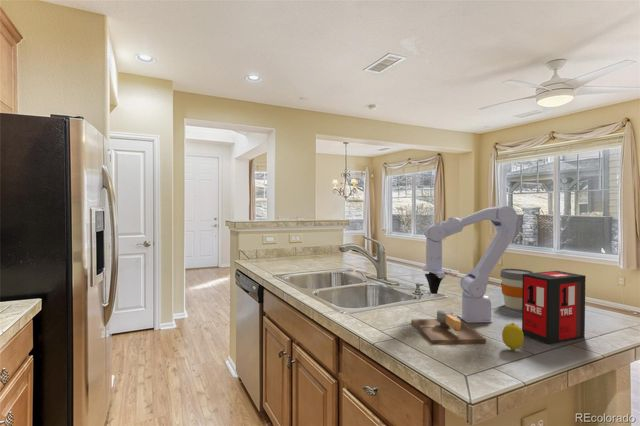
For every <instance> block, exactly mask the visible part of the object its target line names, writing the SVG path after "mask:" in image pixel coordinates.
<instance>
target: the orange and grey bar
mask: <svg viewBox="0 0 640 426" xmlns="http://www.w3.org/2000/svg"><path fill="white" fill-rule="evenodd" d="M453 314H454V313H453V312H452V311H450V310H447V309H446V310H445V309H439V310H437V311H436V319H437V321H438V322H440V323H445V324H447V325H448V326H450V327H451V328H453V329H454V330H455V331H461V322H462V320H460V319H458V318H457V317H455V316H454V315H453Z"/></svg>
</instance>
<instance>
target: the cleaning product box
mask: <svg viewBox="0 0 640 426" xmlns="http://www.w3.org/2000/svg"><path fill="white" fill-rule="evenodd" d="M521 312H522V313H521V330H522V331H523V335H524V337H528V338H530V339H533V340H535V341H538V342H540V343H542V344H545V345H548V346H549V345H554V344H560V343H565V342H570V341H575V340H581V339H584V338H585V337H586V335H585V333H586V332H585V330H586V326H585V325H586V275H584V274H577V273H572V272H568V271H567V272H566V271H560V270H552V271H551V270H550V271H540V272H534V273H527V274H523V288H522V310H521Z"/></svg>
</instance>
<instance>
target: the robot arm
mask: <svg viewBox="0 0 640 426" xmlns="http://www.w3.org/2000/svg"><path fill="white" fill-rule="evenodd" d="M518 220H519V216H518V213H517V211H516V209H515V208H514V207H513V206H510V205H504V206H501V205H494V206H491V207H487V208H483V209H481V210H478V211H475V212H472V213H471V214H469V215H466V216H464V217H461V218H458V217H456V216H455V217H453V216H449V217H448V218H447V219H446V220H444V221H441V222H439V221H437V222H435V223H436V224H432V225H428V226H427V228H425V230H424V237H425V238H426V245H425V265H424V266H423V267H424V268H423V269H422V271H423V272H428V273H424V277H425V278H426V281H427V284H428V288H429V292H430V293H431V294H433V295H435V294H438V292H439V287H440V285H441V282H442V281H443V279H445V275H446V273H445V272H444V270H443V240H444V238H447V237H450V236H452V235H456V234H458V233H461V232H462V231H463V229H464V227H467V226H470V225H474V224H476V223H480V222H482V221H490V222H491V224H492V225H494V228H495V231H496V235H495V236H494V238H492V241H491V242H490V244H489V246H488V247H487V249H485V251H484V253H483V255H482V256H481V258H480V259H479V261H478V262H477V264H476V266H475V267H474V268H473V269H471V270H469V271H468V273H467V274H465V276H463V277H462V278H461V279H460V283H459V285H460V288H461V289H462V292H461V294H462V295H461V296H462V297H461V298H462V299H461V314H457V317H458V318H460V319H461V320H463V321H464V322H466V323H468V324H470V323H472V324H473V323H493V320H492V301H491V299H490V297H489V296H488V295H485V294H486V292H487V286H488V284H489V281H490V278H489V276H490V274H491V273H492V271H493V270H494V268H495V267H496V266H497V264H498V262H499V261H500V259H501V257H502V256H503V255H504V253H505V252H506V250H507V248H508V246H510V243H511V242H512V241H513V239H514V238H515V235H516V232H517V231H516V230H517V229H516V227H517V221H518Z"/></svg>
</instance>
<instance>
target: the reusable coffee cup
mask: <svg viewBox="0 0 640 426" xmlns="http://www.w3.org/2000/svg"><path fill="white" fill-rule="evenodd" d="M527 273H535V272H534V271H532V270H528V269H521V268H501V269H500V275H499V276H500V280H501V282H500V288H501V294H502V296H503V302H504V306H505V307H506V308H509V309H513V310H519V311H520V310H521V311H522V288H523V274H527Z"/></svg>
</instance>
